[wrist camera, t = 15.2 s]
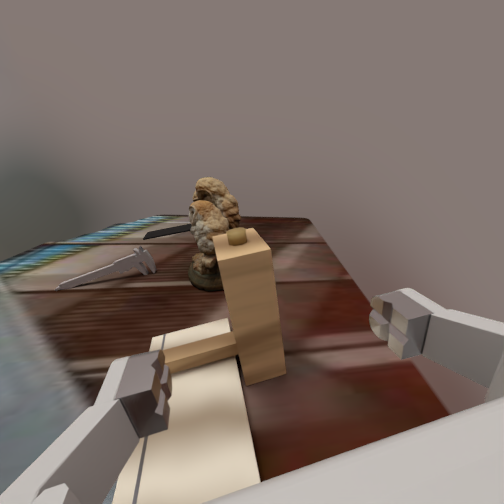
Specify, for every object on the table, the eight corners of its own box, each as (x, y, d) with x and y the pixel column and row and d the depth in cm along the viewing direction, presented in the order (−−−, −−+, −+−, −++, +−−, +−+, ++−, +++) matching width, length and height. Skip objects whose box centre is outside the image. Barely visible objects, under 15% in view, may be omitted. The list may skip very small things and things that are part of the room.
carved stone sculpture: (190, 257, 54) (169, 180, 47) (241, 246, 55) (227, 170, 49) (188, 299, 37) (156, 189, 31) (260, 282, 39) (244, 175, 32)
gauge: (286, 373, 23) (269, 236, 17) (158, 413, 21) (93, 274, 15) (268, 332, 28) (251, 217, 23) (165, 360, 26) (120, 244, 21)
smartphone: (191, 229, 74) (142, 238, 72) (192, 231, 74) (143, 241, 72) (192, 223, 80) (147, 232, 78) (193, 225, 80) (148, 234, 79)
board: (323, 793, 8) (322, 793, 7) (24, 971, 7) (-8, 989, 6) (229, 327, 30) (227, 317, 29) (156, 347, 28) (152, 337, 28)
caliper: (157, 271, 49) (148, 244, 47) (156, 274, 48) (146, 246, 46) (58, 289, 49) (44, 262, 46) (55, 292, 48) (39, 264, 45)
